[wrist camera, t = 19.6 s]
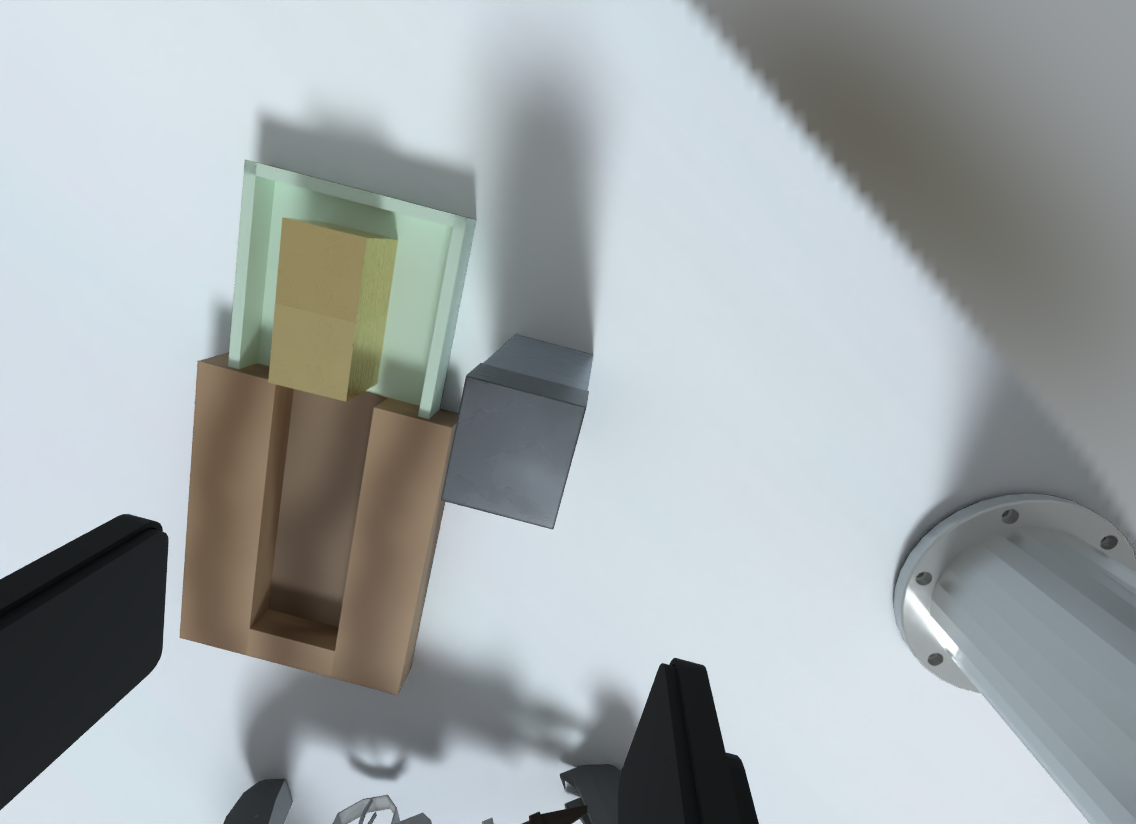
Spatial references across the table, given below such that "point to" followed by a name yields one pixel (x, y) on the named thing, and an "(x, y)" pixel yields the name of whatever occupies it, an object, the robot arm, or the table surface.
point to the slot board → (311, 524)
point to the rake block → (518, 431)
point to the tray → (419, 283)
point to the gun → (270, 800)
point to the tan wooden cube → (334, 270)
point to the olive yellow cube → (325, 353)
